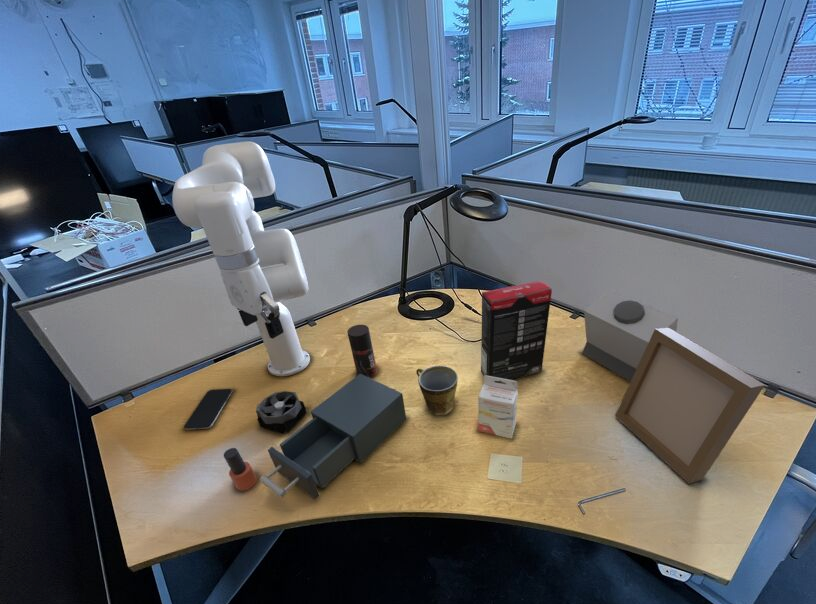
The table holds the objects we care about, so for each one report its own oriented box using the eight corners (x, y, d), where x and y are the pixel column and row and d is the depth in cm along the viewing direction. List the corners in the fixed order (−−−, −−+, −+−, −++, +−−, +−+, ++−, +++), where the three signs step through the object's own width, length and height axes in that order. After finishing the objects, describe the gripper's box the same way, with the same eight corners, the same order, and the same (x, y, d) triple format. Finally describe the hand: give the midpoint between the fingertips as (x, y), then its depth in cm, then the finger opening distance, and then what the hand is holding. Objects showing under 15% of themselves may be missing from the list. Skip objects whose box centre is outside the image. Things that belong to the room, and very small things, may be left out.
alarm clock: (671, 369, 116) (692, 307, 104) (636, 392, 109) (654, 328, 98) (610, 337, 130) (623, 279, 119) (576, 356, 123) (586, 296, 112)
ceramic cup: (467, 404, 109) (465, 375, 103) (441, 426, 103) (438, 396, 97) (432, 384, 117) (429, 356, 111) (406, 403, 111) (402, 374, 105)
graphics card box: (533, 359, 123) (539, 277, 108) (544, 373, 118) (553, 288, 102) (480, 373, 119) (479, 289, 104) (489, 388, 114) (490, 302, 98)
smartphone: (182, 428, 107) (208, 389, 119) (183, 430, 107) (209, 391, 119) (209, 427, 107) (233, 388, 119) (211, 428, 107) (234, 390, 119)
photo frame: (687, 486, 85) (728, 397, 71) (614, 418, 102) (634, 335, 88) (738, 461, 90) (785, 372, 75) (659, 400, 106) (686, 318, 92)
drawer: (296, 517, 84) (286, 496, 79) (258, 486, 90) (247, 465, 86) (367, 451, 97) (361, 429, 93) (329, 428, 103) (322, 407, 99)
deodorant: (373, 379, 120) (364, 337, 111) (354, 377, 121) (343, 335, 112) (379, 366, 125) (371, 325, 116) (361, 365, 126) (352, 323, 117)
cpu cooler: (306, 394, 107) (280, 421, 100) (312, 410, 111) (287, 437, 103) (275, 386, 111) (247, 412, 103) (281, 402, 114) (255, 427, 106)
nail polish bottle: (232, 484, 92) (215, 455, 86) (249, 471, 95) (234, 441, 89) (243, 494, 90) (226, 464, 84) (260, 479, 93) (245, 450, 87)
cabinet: (360, 463, 95) (353, 436, 90) (319, 437, 102) (310, 411, 97) (406, 419, 106) (402, 393, 101) (366, 399, 113) (360, 373, 108)
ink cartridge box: (477, 432, 101) (476, 387, 92) (482, 418, 105) (482, 373, 96) (512, 439, 98) (514, 393, 90) (516, 425, 102) (518, 379, 94)
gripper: (196, 256, 84) (227, 326, 94) (244, 274, 75) (272, 349, 85) (230, 243, 89) (256, 311, 99) (279, 259, 80) (302, 332, 90)
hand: (263, 329), depth 92 cm, fingers open, 9 cm apart
